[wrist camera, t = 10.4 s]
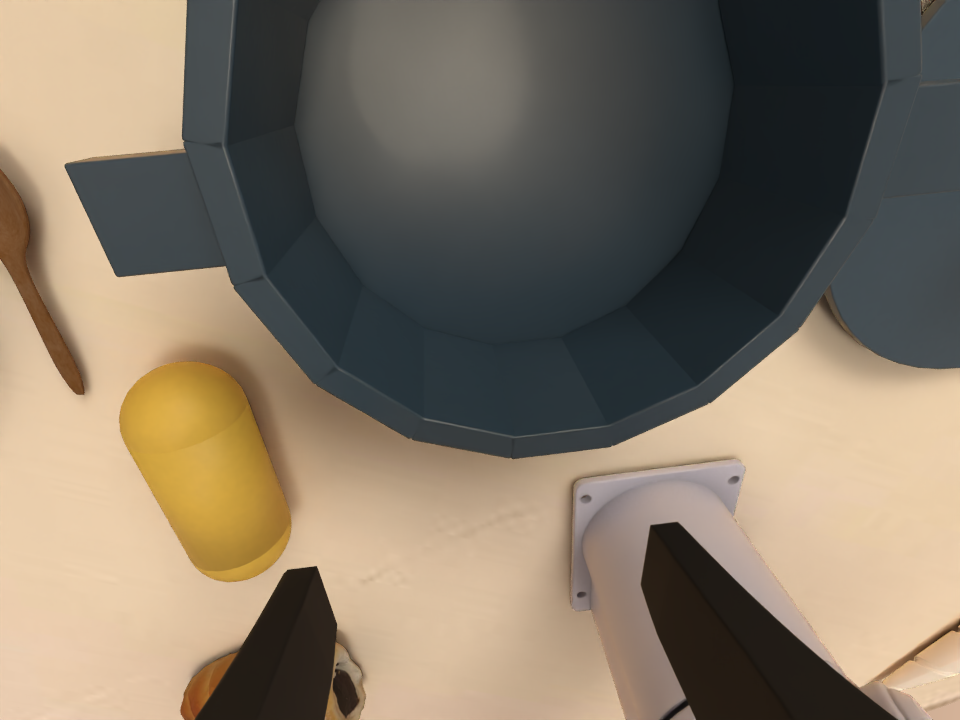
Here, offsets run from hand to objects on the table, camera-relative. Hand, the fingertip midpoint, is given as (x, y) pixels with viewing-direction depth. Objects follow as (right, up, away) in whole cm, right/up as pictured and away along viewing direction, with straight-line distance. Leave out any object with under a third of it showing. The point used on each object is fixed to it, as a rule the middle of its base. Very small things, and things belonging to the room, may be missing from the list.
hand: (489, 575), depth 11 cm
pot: (+1, +11, +5) cm, 12 cm away
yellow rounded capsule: (-10, +1, +9) cm, 14 cm away
